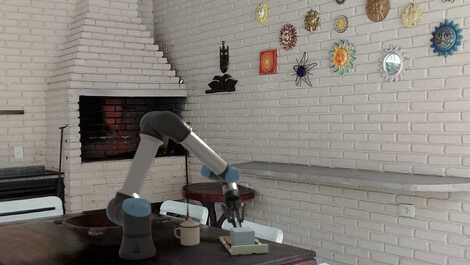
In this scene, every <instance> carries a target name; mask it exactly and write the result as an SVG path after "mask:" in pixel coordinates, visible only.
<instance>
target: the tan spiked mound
mask: <svg viewBox="0 0 470 265" xmlns="http://www.w3.org/2000/svg"><path fill="white" fill-rule="evenodd" d="M188 218H191V217H190V212H189V203H187V204H186V215H185V220H184V222H185V221H187V220H188ZM200 227H203V224H200Z"/></svg>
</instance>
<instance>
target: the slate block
mask: <svg viewBox="0 0 470 265" xmlns="http://www.w3.org/2000/svg"><path fill="white" fill-rule="evenodd" d="M229 229H230V235H229V236H230V243H229V244H230V245H231V246H242V245H256V243H255V238H256V236H255V234H256V231H255V230H254V229H253V228H252V227H250V226H242V227H238V228H233V227H230V228H229Z"/></svg>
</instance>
